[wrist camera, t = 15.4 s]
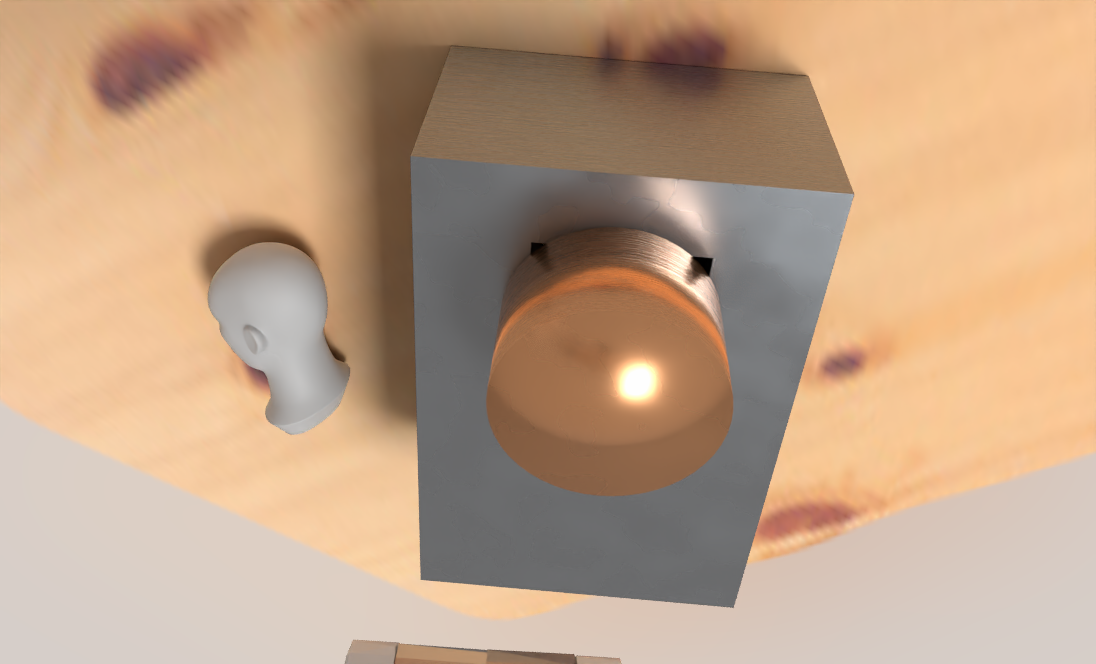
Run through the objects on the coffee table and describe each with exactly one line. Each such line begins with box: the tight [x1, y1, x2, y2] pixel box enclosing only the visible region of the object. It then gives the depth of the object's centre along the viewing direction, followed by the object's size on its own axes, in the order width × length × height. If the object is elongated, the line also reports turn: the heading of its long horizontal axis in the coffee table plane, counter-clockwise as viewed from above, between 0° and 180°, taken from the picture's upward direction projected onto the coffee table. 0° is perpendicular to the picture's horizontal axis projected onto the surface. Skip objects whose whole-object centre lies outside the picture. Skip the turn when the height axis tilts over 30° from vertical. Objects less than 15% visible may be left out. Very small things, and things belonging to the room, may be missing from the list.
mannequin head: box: [208, 242, 350, 434], centre depth 39 cm, size 4×8×5 cm
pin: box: [486, 227, 733, 496], centre depth 30 cm, size 7×7×11 cm
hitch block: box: [410, 46, 854, 608], centre depth 35 cm, size 12×18×8 cm, turn 177°
